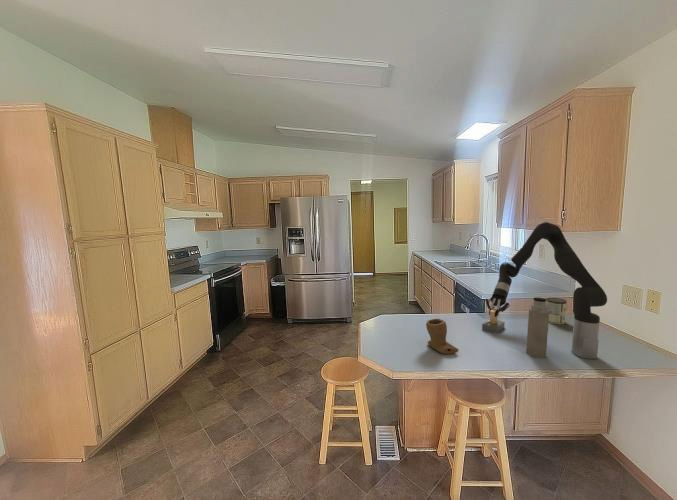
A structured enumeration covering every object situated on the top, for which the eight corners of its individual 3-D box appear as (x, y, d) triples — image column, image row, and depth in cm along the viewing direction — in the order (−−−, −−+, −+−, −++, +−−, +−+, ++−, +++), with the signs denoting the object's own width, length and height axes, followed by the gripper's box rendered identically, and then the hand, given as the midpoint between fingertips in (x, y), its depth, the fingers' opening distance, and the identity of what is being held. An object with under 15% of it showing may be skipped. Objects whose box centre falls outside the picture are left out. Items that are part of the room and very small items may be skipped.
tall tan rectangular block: (492, 323, 172) (492, 308, 170) (497, 325, 170) (497, 309, 168) (490, 326, 170) (489, 311, 168) (494, 327, 168) (494, 312, 166)
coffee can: (544, 317, 189) (545, 296, 188) (563, 320, 184) (565, 298, 182) (545, 322, 181) (546, 300, 179) (565, 325, 175) (567, 303, 173)
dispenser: (490, 325, 177) (490, 316, 176) (504, 329, 171) (504, 320, 171) (481, 330, 169) (482, 321, 168) (496, 335, 163) (497, 325, 163)
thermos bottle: (528, 348, 146) (531, 295, 143) (547, 353, 141) (551, 298, 137) (524, 354, 140) (528, 298, 137) (544, 359, 135) (548, 301, 132)
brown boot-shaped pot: (421, 344, 154) (421, 317, 152) (441, 341, 156) (441, 314, 155) (438, 357, 139) (438, 327, 137) (459, 354, 142) (460, 325, 140)
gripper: (487, 286, 177) (478, 309, 171) (512, 289, 167) (504, 315, 160) (490, 292, 181) (481, 316, 175) (515, 297, 171) (507, 322, 164)
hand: (492, 315), depth 168 cm, fingers closed on tall tan rectangular block, 2 cm apart
